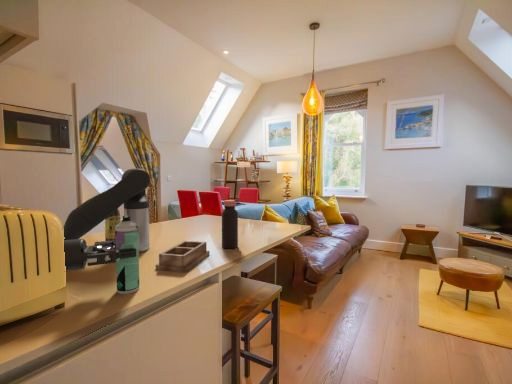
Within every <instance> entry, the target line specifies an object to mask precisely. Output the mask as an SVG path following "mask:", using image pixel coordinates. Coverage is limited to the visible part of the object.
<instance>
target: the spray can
mask: <svg viewBox="0 0 512 384" xmlns="http://www.w3.org/2000/svg"><path fill="white" fill-rule="evenodd" d="M115 227H116V228H115V244H116V249H119V251H120V249H128V248H136V257H131V258H122V259H120V260H117V261H116V262H115V269H116V270H115V271H116V292H117V294H121V295H128V294H133V293H135V292H137V291H138V290H140V255H139V253H140V252H139V247H138V227H137V224H136V223H134V222H132V220H131V219H130V216H124V215H123V216H122V219H121V220H120V223H119V224H118V225H116V226H115Z"/></svg>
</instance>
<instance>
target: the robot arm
mask: <svg viewBox="0 0 512 384" xmlns="http://www.w3.org/2000/svg"><path fill="white" fill-rule="evenodd" d="M150 185H151V175H150V174H149V173H148V171H146V170H145V169H142V168H129V169H128V170H125V171H124V172H123V173H122V176H121V180H119V181H118V182H117V183H115V185H113V186H112V187H110V188H109V189H107V190H104V191H103V192H101V193H98V194H96V195H95V196H93V197H91V198H89V199H87V200H85V201H84V202H82V203H81V204H80V205H79V206H76V207H75V208H74V209H72V210H71V212H70V213H69V214H68V216H67V218H66V220H65V222H64V224H63V228H64V237H65V239H64V252H65V266H66V271H65V272H72V271H78V270H79V271H80V270H85V268H86V266H88V267H92V266H99V265H107V264H116V261H117V260H120V259H122V258H131V257H136V248H128V249H120V251H119V249H116V244H115V240H114V241H105V240H104V241H103V240H101V241H95V242H94V244H93V245H87V241H86V240H85V238H82V237H84V236H85V235H86V234H87V233H89V232H91V230H93V229H95V227H97V226H98V225H99V224H101V223H103V221H105V219H106V218H107V217H108V216H109V215H111V214H112V213H113V212H114V211H115V210H117V209H118V210H119V208H120V207H121V206H122V205H123V216H130V219H131V220H132V222H134V223H136V224H137V227H138V247H139V253H140V252H145V251H148V250H150V214H149V213H150V212H149V209H150V208H149V200H148V198H147V194H146V193H147V192H146V189H148V188H149V186H150ZM63 228H62V229H63Z"/></svg>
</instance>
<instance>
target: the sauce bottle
mask: <svg viewBox="0 0 512 384" xmlns="http://www.w3.org/2000/svg"><path fill="white" fill-rule="evenodd" d="M119 223H121V214H120V210H119V208H118V209H117V210H115V211H114V212H113V213H112V214H111V215H109V216H108V217H107V218H106V219H105V220H104V225H105V226H104V238H105V240H104V241H114V240H115V228H116V227H115V226H116V225H118V224H119Z"/></svg>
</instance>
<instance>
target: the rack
mask: <svg viewBox="0 0 512 384" xmlns="http://www.w3.org/2000/svg"><path fill="white" fill-rule="evenodd" d="M208 256H210V250H207V241H194V240H184V241H182V242H180V243H178V244H176V245H174V246H171V247H170V248H168V249H166V250H164V251H162V252H160V253H158V263H157V264H155V270H157V271H166V272H167V271H168V272H180V273H188V272H189V271H190V270H192V269H193V268H194V267H195V266H197V265H198V264H199V263H200V262H202V261H203V260H205V259H206V258H207V257H208Z"/></svg>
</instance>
